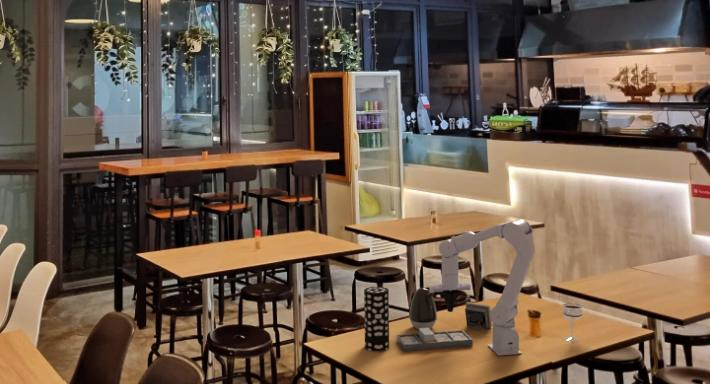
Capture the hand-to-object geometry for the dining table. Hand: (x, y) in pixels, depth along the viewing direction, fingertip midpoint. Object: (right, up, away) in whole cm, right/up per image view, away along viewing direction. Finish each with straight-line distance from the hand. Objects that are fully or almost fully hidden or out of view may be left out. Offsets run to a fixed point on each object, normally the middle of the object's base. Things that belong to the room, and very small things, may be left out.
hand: (450, 311), depth 217 cm
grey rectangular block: (-9, -10, -5) cm, 14 cm away
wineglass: (+42, -10, -2) cm, 43 cm away
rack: (-6, -11, -4) cm, 13 cm away
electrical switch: (+12, -9, +12) cm, 20 cm away
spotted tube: (-26, -11, -6) cm, 29 cm away
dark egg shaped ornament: (-8, -9, +13) cm, 18 cm away
